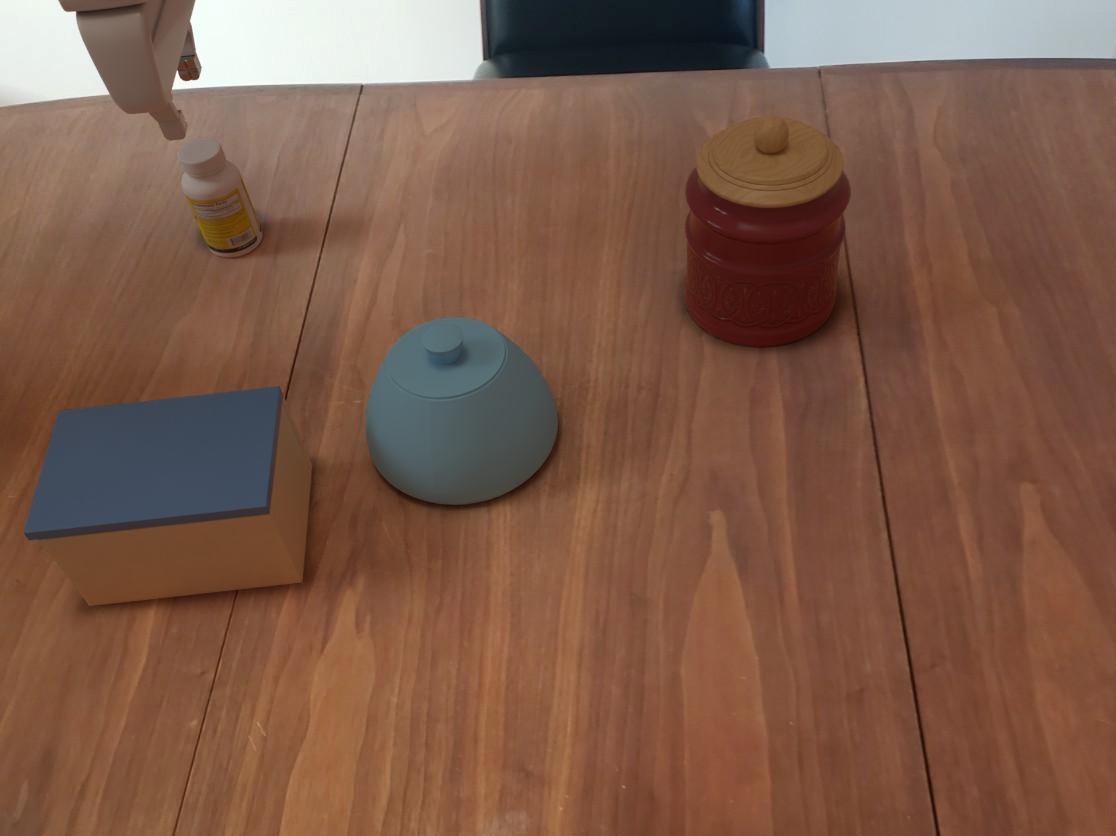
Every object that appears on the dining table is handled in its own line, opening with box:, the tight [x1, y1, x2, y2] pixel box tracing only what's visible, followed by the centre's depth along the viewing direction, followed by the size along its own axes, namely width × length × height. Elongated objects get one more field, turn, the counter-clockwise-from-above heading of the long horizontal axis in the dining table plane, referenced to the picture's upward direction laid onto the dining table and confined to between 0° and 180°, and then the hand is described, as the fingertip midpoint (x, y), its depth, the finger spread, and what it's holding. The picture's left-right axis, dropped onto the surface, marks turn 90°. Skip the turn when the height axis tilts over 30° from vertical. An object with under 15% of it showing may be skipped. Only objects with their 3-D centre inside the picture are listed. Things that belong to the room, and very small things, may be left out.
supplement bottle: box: [176, 137, 263, 258], centre depth 101 cm, size 5×5×10 cm
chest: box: [38, 394, 313, 607], centre depth 79 cm, size 16×12×9 cm
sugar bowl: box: [365, 316, 559, 506], centre depth 82 cm, size 15×15×12 cm
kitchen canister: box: [684, 114, 852, 348], centre depth 88 cm, size 13×13×18 cm
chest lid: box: [23, 386, 284, 541], centre depth 75 cm, size 16×12×1 cm
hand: (185, 105), depth 94 cm, fingers open, 8 cm apart
